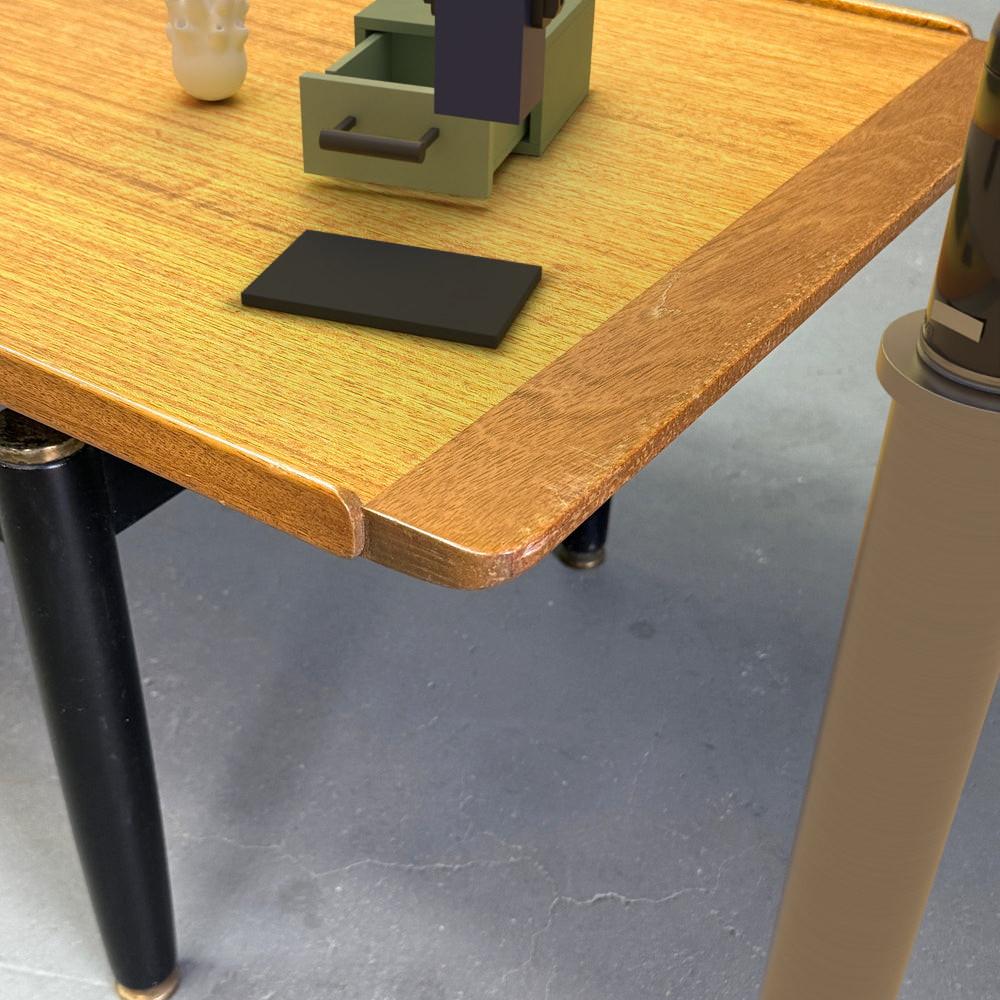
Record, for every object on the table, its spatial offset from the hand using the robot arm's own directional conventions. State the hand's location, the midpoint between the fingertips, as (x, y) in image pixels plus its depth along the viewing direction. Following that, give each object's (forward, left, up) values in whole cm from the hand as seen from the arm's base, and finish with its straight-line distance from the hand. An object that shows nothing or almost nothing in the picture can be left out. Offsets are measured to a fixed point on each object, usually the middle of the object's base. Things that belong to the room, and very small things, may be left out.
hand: (492, 17), depth 74 cm
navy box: (0, 0, -5) cm, 5 cm away
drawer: (+11, -19, -16) cm, 28 cm away
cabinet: (+11, -34, -17) cm, 40 cm away
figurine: (+32, -29, -18) cm, 46 cm away
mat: (+6, -1, -17) cm, 18 cm away
